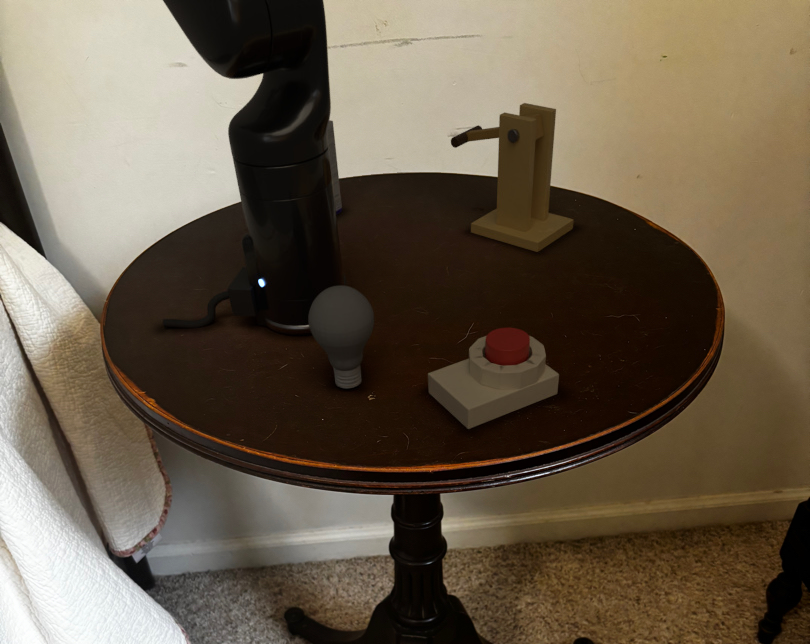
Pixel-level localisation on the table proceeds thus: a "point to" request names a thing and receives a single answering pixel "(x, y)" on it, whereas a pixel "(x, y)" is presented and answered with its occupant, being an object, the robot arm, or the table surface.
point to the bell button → (507, 346)
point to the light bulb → (342, 330)
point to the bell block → (492, 385)
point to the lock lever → (490, 133)
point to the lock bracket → (524, 183)
